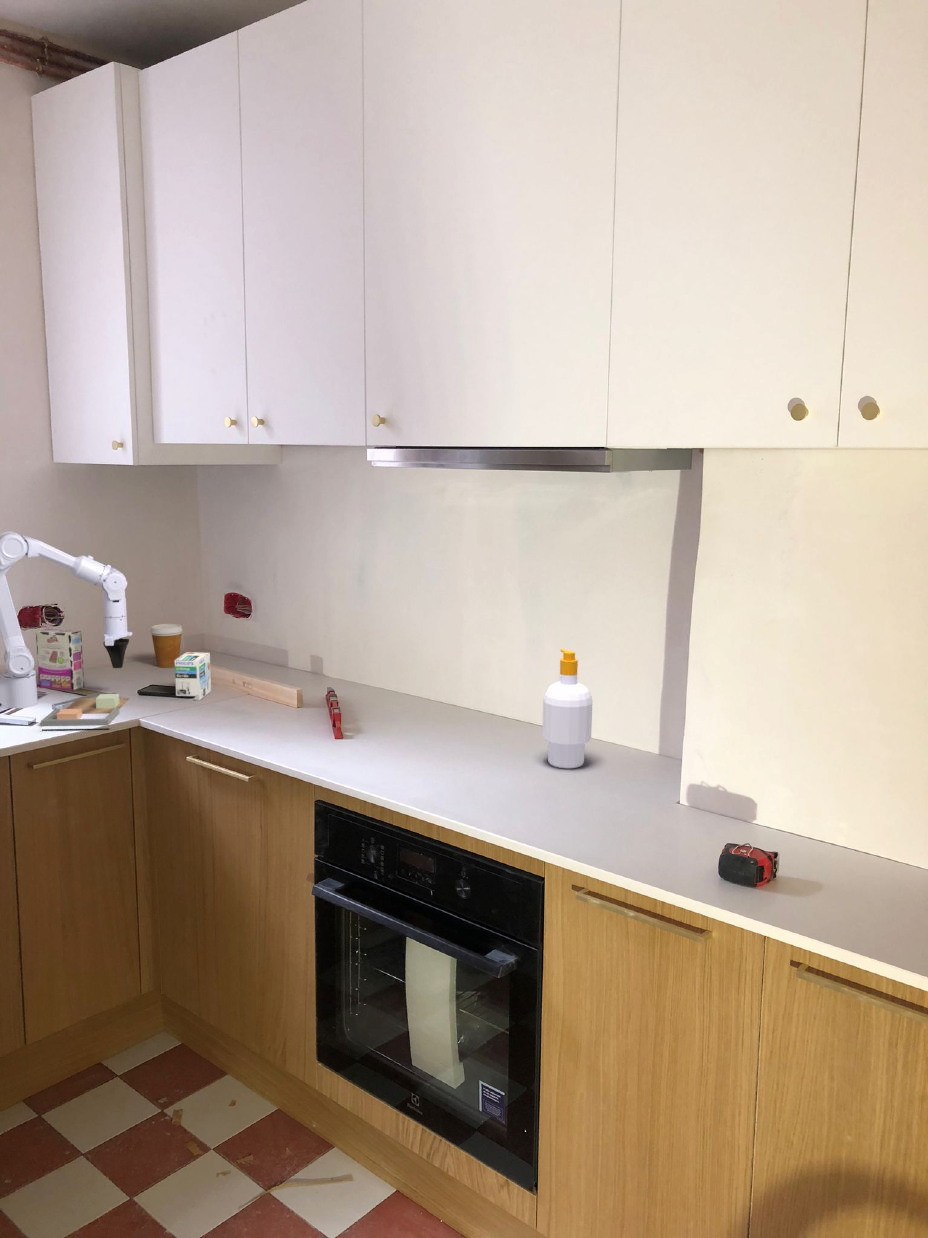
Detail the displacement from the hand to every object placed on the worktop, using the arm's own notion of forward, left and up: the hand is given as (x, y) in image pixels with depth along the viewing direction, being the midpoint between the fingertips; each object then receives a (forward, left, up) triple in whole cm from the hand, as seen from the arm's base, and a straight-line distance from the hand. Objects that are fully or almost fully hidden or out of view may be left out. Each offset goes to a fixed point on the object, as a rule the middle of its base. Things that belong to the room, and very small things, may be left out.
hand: (117, 667), depth 255 cm
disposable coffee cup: (+4, +40, -9) cm, 41 cm away
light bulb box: (+18, +3, -9) cm, 21 cm away
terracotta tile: (-6, -22, -8) cm, 25 cm away
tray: (-3, -23, -8) cm, 25 cm away
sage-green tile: (0, -11, -7) cm, 13 cm away
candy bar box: (-18, +10, -9) cm, 22 cm away
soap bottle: (+106, -60, -9) cm, 122 cm away
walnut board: (-3, -11, -8) cm, 14 cm away
